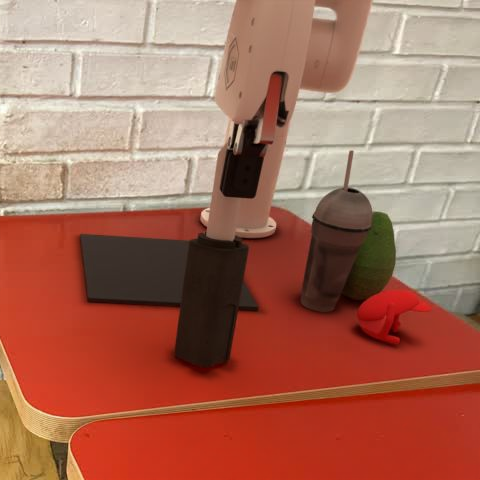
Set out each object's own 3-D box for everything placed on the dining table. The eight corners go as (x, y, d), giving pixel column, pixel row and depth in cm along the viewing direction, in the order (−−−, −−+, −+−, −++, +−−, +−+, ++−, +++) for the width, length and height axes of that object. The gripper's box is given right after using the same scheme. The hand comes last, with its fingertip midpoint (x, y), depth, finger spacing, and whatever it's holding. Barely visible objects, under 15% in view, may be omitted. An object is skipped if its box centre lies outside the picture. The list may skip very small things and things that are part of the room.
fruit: (335, 308, 92) (362, 221, 85) (313, 283, 98) (337, 200, 92) (391, 311, 93) (422, 225, 86) (367, 285, 100) (393, 204, 93)
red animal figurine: (360, 344, 84) (376, 300, 81) (345, 321, 89) (359, 278, 86) (425, 350, 84) (442, 305, 81) (406, 326, 89) (422, 284, 86)
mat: (80, 237, 105) (80, 233, 105) (221, 246, 108) (221, 242, 107) (87, 302, 87) (88, 297, 87) (257, 311, 89) (258, 306, 89)
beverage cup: (347, 320, 89) (398, 164, 78) (290, 311, 90) (333, 155, 79) (342, 297, 95) (388, 149, 84) (288, 288, 96) (328, 140, 85)
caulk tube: (204, 369, 74) (243, 119, 63) (169, 353, 77) (201, 113, 67) (234, 359, 77) (276, 120, 66) (199, 344, 80) (234, 114, 70)
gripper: (217, -35, 62) (184, 169, 72) (261, -26, 50) (214, 219, 60) (297, -27, 63) (254, 175, 73) (361, -16, 51) (298, 225, 61)
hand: (236, 194), depth 66 cm, fingers closed
